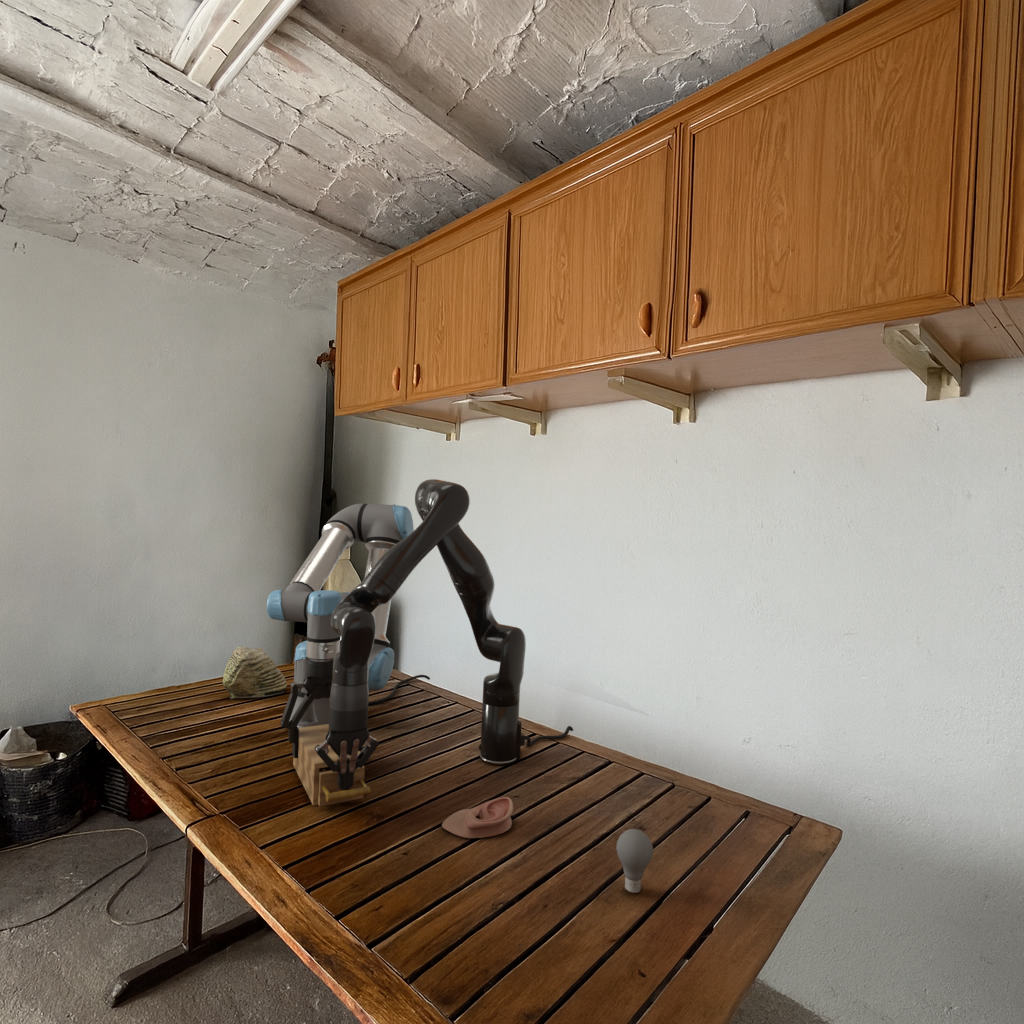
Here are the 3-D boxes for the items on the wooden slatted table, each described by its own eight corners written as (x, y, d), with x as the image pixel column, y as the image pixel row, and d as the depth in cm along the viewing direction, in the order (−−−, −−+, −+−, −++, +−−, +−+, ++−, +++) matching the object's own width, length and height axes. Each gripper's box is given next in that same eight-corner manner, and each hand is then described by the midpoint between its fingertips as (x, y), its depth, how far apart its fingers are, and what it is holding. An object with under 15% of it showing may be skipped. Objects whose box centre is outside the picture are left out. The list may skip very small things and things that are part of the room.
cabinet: (361, 796, 135) (363, 756, 135) (312, 805, 130) (314, 764, 130) (336, 757, 154) (338, 722, 154) (293, 764, 149) (294, 728, 149)
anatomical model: (437, 813, 121) (454, 787, 132) (436, 833, 121) (454, 805, 132) (505, 823, 118) (517, 795, 129) (504, 844, 118) (516, 815, 129)
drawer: (371, 809, 127) (372, 777, 127) (325, 818, 123) (326, 785, 123) (338, 760, 150) (340, 733, 149) (299, 767, 145) (300, 739, 145)
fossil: (218, 695, 195) (220, 647, 195) (278, 685, 208) (279, 640, 207) (228, 703, 189) (230, 653, 188) (289, 692, 201) (290, 645, 201)
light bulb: (610, 879, 108) (613, 822, 108) (644, 879, 109) (647, 822, 109) (619, 902, 102) (622, 840, 102) (655, 901, 103) (658, 840, 103)
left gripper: (274, 666, 139) (270, 766, 139) (375, 657, 150) (371, 750, 150) (268, 658, 145) (265, 754, 146) (366, 650, 156) (362, 739, 157)
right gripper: (319, 713, 120) (315, 803, 121) (386, 705, 127) (382, 791, 127) (311, 701, 127) (307, 787, 127) (375, 694, 133) (371, 776, 134)
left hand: (319, 752), depth 148 cm, fingers closed on cabinet, 10 cm apart
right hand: (345, 789), depth 127 cm, fingers closed
